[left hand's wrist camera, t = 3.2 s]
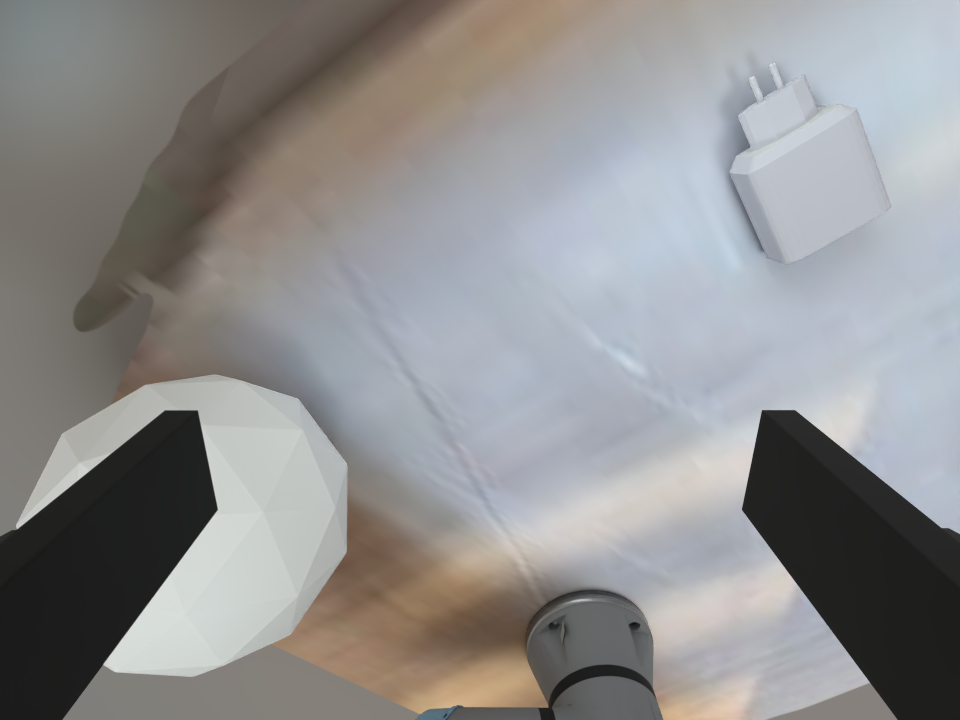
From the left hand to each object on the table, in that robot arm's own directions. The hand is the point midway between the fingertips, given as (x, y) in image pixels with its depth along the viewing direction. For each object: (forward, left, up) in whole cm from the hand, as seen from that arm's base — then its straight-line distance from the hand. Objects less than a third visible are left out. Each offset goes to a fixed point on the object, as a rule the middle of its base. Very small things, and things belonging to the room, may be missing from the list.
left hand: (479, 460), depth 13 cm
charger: (+7, -26, -40) cm, 48 cm away
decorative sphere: (-22, +24, -40) cm, 51 cm away
